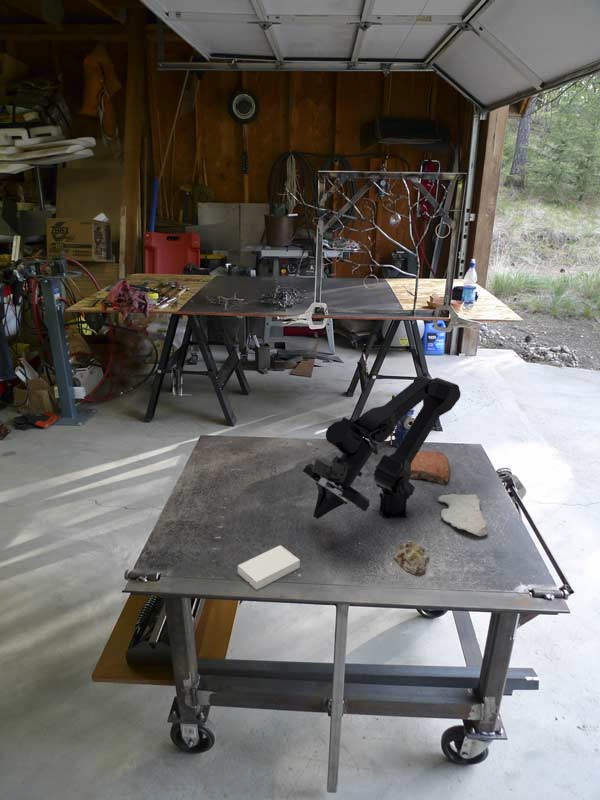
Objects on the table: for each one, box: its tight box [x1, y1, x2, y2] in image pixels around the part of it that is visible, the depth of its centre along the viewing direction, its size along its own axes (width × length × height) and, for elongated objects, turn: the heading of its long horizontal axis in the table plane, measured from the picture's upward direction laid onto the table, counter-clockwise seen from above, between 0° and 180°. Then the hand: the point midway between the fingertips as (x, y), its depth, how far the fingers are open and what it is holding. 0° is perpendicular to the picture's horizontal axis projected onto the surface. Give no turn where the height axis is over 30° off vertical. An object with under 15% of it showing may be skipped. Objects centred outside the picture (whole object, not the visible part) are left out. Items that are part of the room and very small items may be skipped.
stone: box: [437, 493, 488, 537], centre depth 156 cm, size 13×4×20 cm
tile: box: [237, 544, 301, 590], centre depth 134 cm, size 2×7×12 cm
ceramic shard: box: [409, 450, 450, 485], centre depth 178 cm, size 15×6×15 cm
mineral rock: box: [393, 540, 430, 577], centre depth 138 cm, size 11×4×8 cm
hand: (315, 517), depth 139 cm, fingers closed
